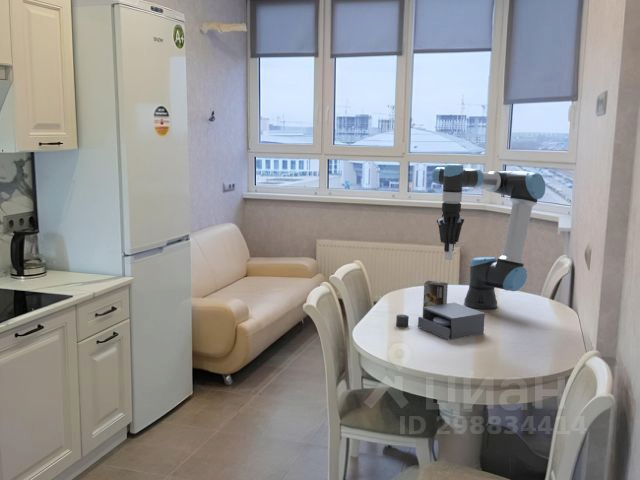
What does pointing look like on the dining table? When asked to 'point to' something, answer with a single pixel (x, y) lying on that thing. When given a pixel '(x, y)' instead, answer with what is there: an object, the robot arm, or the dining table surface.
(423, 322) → the tray
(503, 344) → the dining table surface
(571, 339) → the dining table surface
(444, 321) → the light blue dome
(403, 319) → the short dark gray cylinder
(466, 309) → the gray drawer box
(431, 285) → the coffee box
